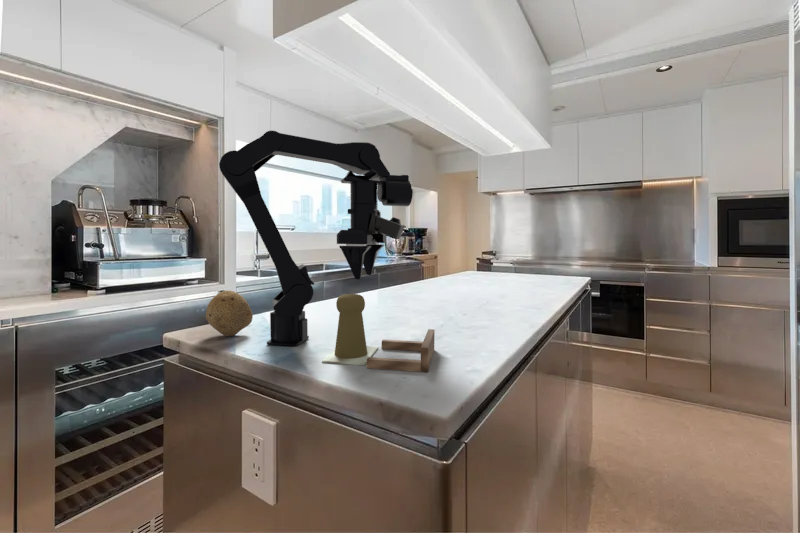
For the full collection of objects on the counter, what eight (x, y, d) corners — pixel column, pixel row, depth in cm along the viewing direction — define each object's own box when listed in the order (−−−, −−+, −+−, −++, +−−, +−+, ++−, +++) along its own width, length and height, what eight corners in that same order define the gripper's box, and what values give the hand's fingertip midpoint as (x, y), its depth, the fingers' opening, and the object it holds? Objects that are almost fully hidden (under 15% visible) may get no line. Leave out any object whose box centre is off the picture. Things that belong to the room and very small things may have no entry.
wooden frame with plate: (319, 364, 65) (319, 341, 64) (342, 344, 77) (342, 325, 76) (427, 372, 61) (428, 347, 61) (434, 349, 74) (434, 329, 73)
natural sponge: (196, 337, 82) (195, 291, 81) (233, 328, 89) (232, 286, 88) (222, 343, 77) (221, 294, 76) (259, 334, 85) (258, 289, 84)
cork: (351, 360, 66) (351, 298, 65) (327, 354, 69) (326, 294, 69) (374, 352, 71) (374, 293, 70) (350, 346, 74) (350, 290, 73)
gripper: (392, 200, 71) (391, 283, 72) (407, 208, 90) (406, 273, 91) (335, 201, 73) (336, 281, 74) (361, 208, 91) (361, 272, 93)
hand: (363, 276), depth 83 cm, fingers open, 9 cm apart
